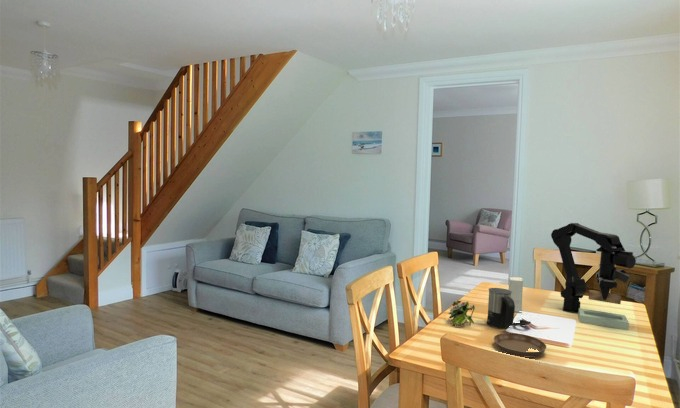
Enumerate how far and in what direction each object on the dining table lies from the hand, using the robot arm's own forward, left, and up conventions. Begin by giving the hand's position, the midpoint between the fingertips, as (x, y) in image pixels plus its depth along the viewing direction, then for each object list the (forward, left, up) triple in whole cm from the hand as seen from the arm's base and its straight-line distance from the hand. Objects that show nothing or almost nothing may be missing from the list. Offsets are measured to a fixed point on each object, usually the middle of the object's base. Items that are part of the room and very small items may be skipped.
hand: (604, 298), depth 196 cm
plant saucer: (-31, -53, -11) cm, 62 cm away
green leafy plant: (-54, -36, -11) cm, 66 cm away
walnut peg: (0, 0, -1) cm, 1 cm away
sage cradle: (0, 0, -11) cm, 11 cm away
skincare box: (-36, -3, -11) cm, 38 cm away
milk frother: (-37, -29, -11) cm, 48 cm away
